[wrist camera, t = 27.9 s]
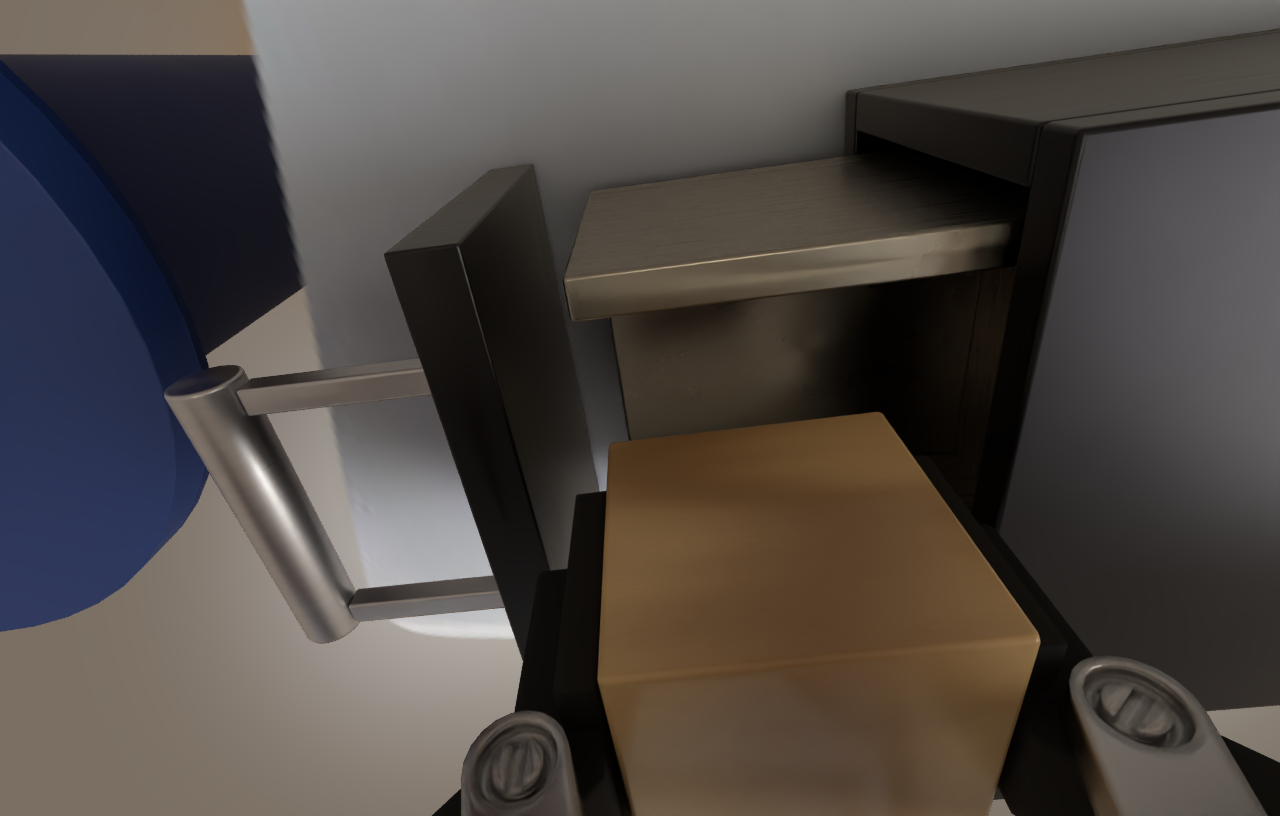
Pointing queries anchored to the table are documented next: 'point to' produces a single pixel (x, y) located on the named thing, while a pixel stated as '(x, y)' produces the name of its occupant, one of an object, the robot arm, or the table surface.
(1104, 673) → the robot arm
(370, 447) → the table surface
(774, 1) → the table surface
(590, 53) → the table surface
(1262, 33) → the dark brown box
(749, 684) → the block
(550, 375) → the drawer
